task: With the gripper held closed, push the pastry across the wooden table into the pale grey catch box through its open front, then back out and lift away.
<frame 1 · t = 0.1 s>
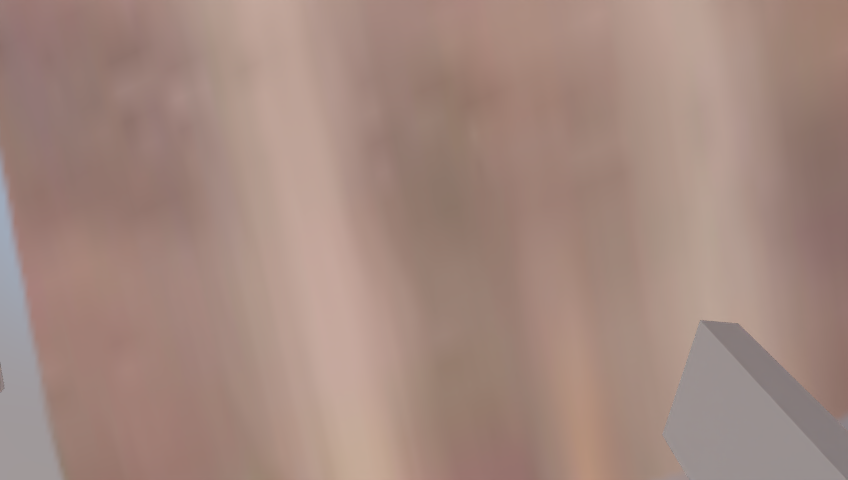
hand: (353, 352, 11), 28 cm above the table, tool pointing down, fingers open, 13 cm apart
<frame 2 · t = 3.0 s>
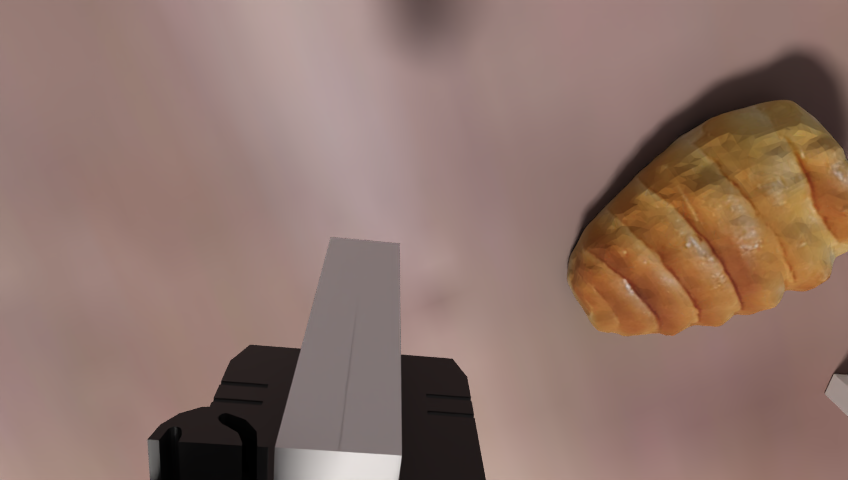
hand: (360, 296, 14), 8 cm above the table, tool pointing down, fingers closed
pastry: (700, 214, 22), on the table
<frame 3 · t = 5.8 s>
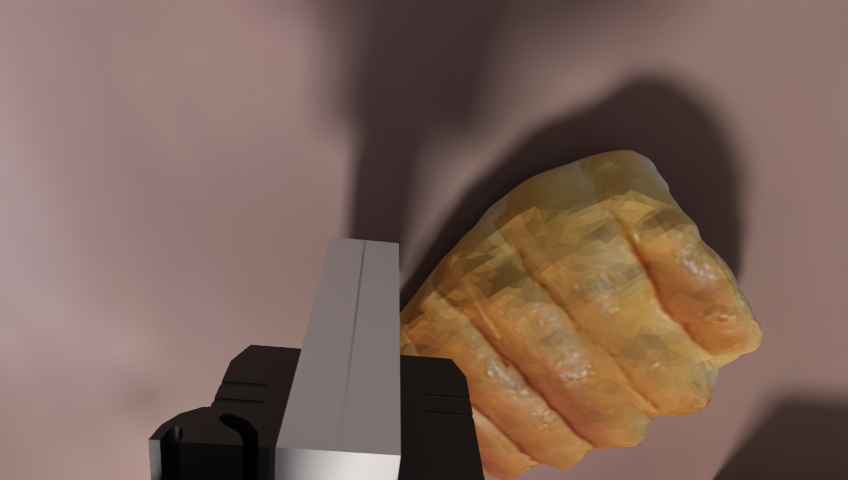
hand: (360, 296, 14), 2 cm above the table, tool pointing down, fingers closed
pastry: (548, 301, 16), on the table, touching gripper
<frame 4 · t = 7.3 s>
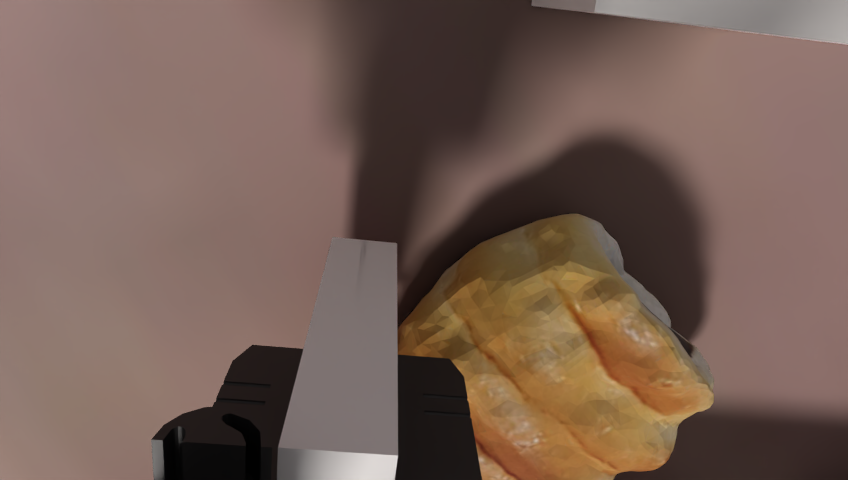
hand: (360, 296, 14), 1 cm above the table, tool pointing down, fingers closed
catch box: (734, 306, 16), on the table
pastry: (514, 355, 16), on the table, touching catch box, gripper
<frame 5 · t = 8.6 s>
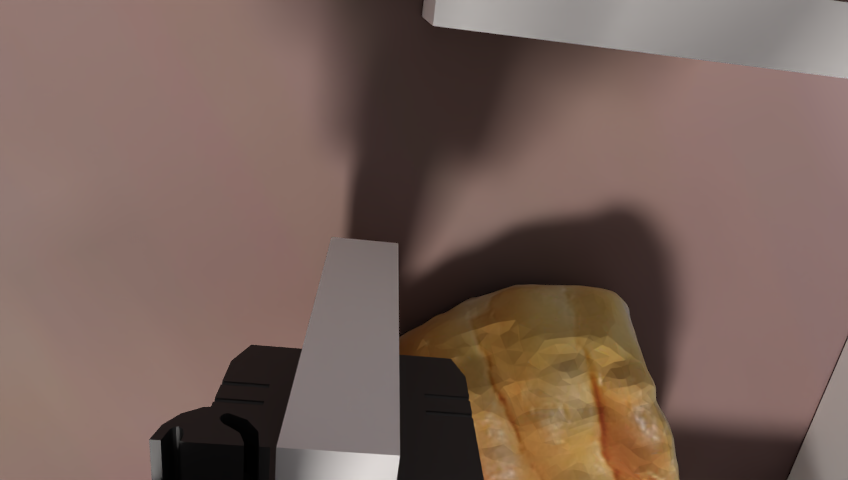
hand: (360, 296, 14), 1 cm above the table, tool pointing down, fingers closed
catch box: (645, 319, 15), on the table
pastry: (489, 398, 16), on the table, touching catch box, gripper
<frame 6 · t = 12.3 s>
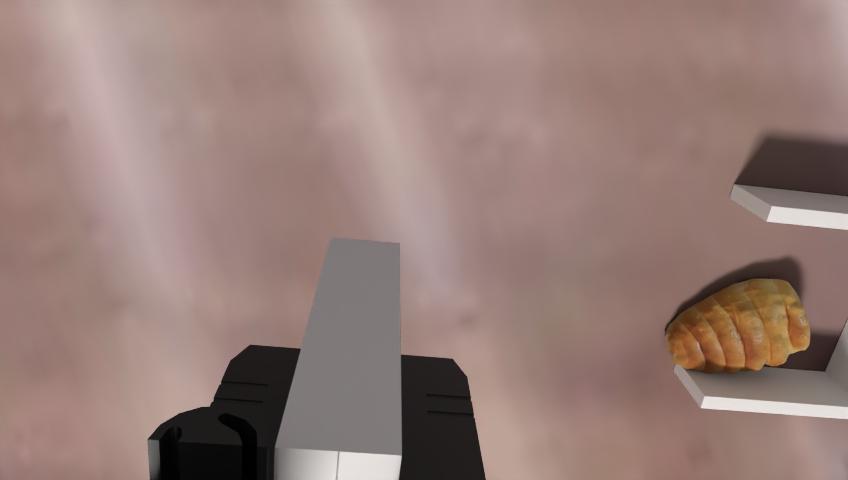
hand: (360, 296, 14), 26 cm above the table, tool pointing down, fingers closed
catch box: (786, 291, 44), on the table
pastry: (731, 319, 46), on the table
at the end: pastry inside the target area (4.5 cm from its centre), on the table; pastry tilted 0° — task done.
